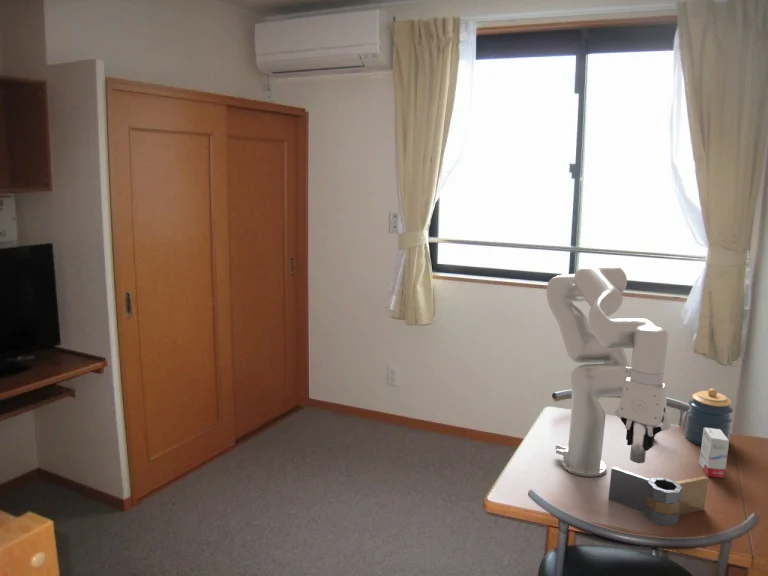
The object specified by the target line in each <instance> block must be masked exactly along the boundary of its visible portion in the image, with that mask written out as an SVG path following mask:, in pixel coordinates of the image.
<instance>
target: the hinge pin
mask: <svg viewBox="0 0 768 576" xmlns="http://www.w3.org/2000/svg"><path fill="white" fill-rule="evenodd" d="M647 433H648V426H647V425H645V424H642V423H638V422H635V421H634V423H633V433H632V442H631V445H630V452H629V453H630V455H629V461H632V462H633V463H637V464H644V463H646V459H647V458H646V457H647V456H646V455H647V451H645V450H644V444H645V436H646V435H647Z"/></svg>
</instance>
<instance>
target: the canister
mask: <svg viewBox="0 0 768 576" xmlns="http://www.w3.org/2000/svg"><path fill="white" fill-rule="evenodd" d="M691 396H692V398H691V399H690V400H688V405H689V409H688V410H687V411H686V414H687V416H686V417H687V418H686V425H685V429H684V434H685V438H686V439H687V440H688V441H690V442H692V444H693V443H694V444H696V445H699V446H701V445H702V437H703V429H704V428H713V429H720V430H721V431H722V432H723V433H724V435H725V436H726V437H727V439H728V440H729V441H730V432H731V431H730V430H731V423H732V421H733V418H732V416H731V415H732V413H733V412H734V407H732V406H731V405H732V401H731V399H730V398H728V397H727V396H726V395H725V394H723V393H720V392H718V391H717V389H715V388H712V387H711V388H709V389H708V390H700V391H698V392H695V393H692V395H691Z"/></svg>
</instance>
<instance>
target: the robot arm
mask: <svg viewBox="0 0 768 576" xmlns="http://www.w3.org/2000/svg"><path fill="white" fill-rule="evenodd" d="M627 284H628V278H627V275H626V272H625V271H624V270H623V268H621V267H619V266H617V265H612V264H611V265H607V264H606V265H600V264H599V265H587V266H586V265H585V266H583V267H580V268H578V270H577V271H576V272H575V273H570V274H569V273H568V274H567V273H566V274H560V275H559V274H558V275H556V276H554V277H552V278H550V279H549V280H548V282H547V285H546V298H547V303H548V306H549V309H550V311H551V312H552V314H553V316H554V318H555V320H556V322H557V324H558V326H559V329H560V333H561V336H562V340H563V343H564V347H565V350H566V353H567V355H568V358H569V360H570V361H571V362H573V363H575V364H576V363H577V364H580V365H578V366H576V367H574V369H573V370H572V371H571V374H570V389H571V409H570V410H571V411H570V421H569V422H570V423H569V435H568V446H564V445H562V444H559V443H557V444H556V445H555V453H556V454H558V455H562V456H563V457H562V459H561V466H562V467H563V469H564V470H566V471H567V470H568V471H567V472H569V473H570V474H573V475H576V476H581V477H584V478H585V477H586V478H588V477H589V478H594V477H595V478H596V477H600V476H602V475H604V474H605V473H607V472H606V471H607V465H606V464H605V462H604V461H603V460H602V456H603V455H602V453H603V448H604V447H603V445H604V436H605V435H604V434H605V424H606V410H605V407H604V406H603V405H602V403H601V401H600V399H601V398H611V397H620V401H619V406H618V407H617V408H616V410H615V411H614V415H615V416H616V417H618V418H619V419H620V421H621V422H622V423H623V425H624V428H625V429H626V438H625V441H626V445H627V446H629V447H631V442H632V433H633V423H634V421H635V422H638V423H642V424H645V425H647V426H648V433H647V435H646V436H645V444H644V450H645V451H646V452H648V451H649V450H651V449H652V448H653V447H654V444H655V437H656V435H657V434H659V433H660V432H664V431H668V430H670V429H671V428H672V426H671V424H670V421H669V419H668V416H667V404H668V403H667V401H668V400H667V388H666V387H667V386H666V384H665V383H664V376H665V367H666V366H665V365H666V359H667V349H668V339H669V334H668V331H667V329H665V328H663V327H660V326H657V325H656V324H655V323H654V322H653V321H652V320H650V319H648V318H642V317H641V318H640V317H638V318H610V317H609V316H611V315H613V314H615V313H616V312H618V310H619V309H620V308H621V306H622V304H623V299H624V298H623V294H622V293H623V292H624V291H625V290H626V288H627ZM580 302H581V303H583V302H585V303H588V305H589V306H590V309H589V312H588V317H587V316H586V314H585V313H584V312H583V311H582V310H581V309H580V308H579V307H578V306H577V305H575V304H574V303H580ZM625 349H632V354H631V364H630V363H629V360H628V356H627V354H626V351H625ZM630 365H631V366H630ZM655 434H656V435H655ZM654 436H655V437H654Z"/></svg>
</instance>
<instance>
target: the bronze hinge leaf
mask: <svg viewBox="0 0 768 576" xmlns="http://www.w3.org/2000/svg"><path fill="white" fill-rule="evenodd" d="M674 481H675V480H674ZM675 482H676V483H678V484H679V485H680V486H681V487H682V496H681V499H680V501H679V502H678V503H667V504H665V503H663V502H660V501H657V500H654V499H652V498H651V497H650V495H649V494H648V497H647V506H648V507H649V508H651V509H652V510H653V511H655V512H658V513H662V514H667V515H671V514H676V513H679V516H680V515H686V514H690V513H695V512H699V511H704V510H705V507H706V498H707V493H708V492H707V491H708V487H709V485H708V484H709V477H708V476H707V475H703V476H699V477H698V476H697V477H692V478H687V479H682V480H677V481H675ZM679 509H680V512H679Z"/></svg>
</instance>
